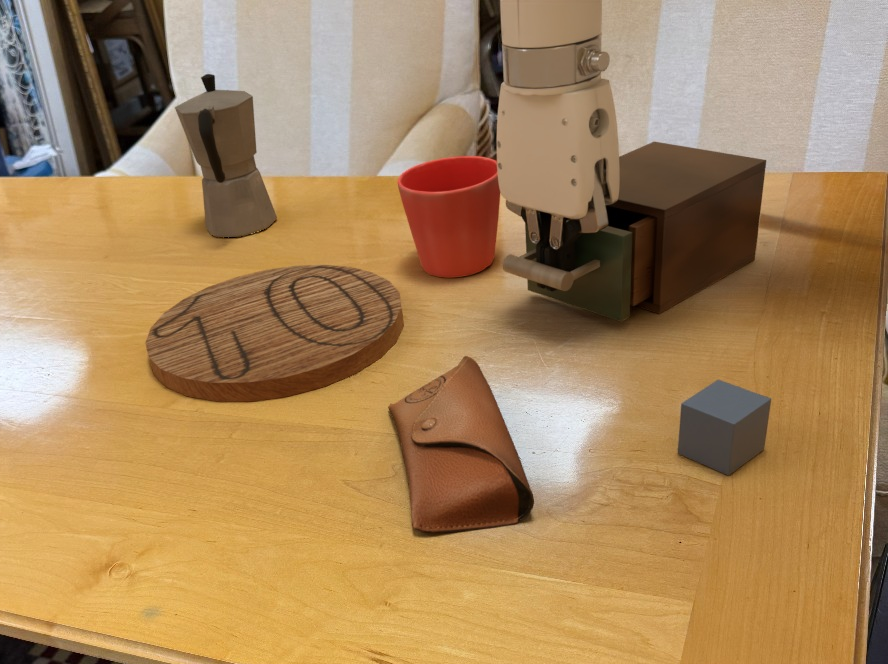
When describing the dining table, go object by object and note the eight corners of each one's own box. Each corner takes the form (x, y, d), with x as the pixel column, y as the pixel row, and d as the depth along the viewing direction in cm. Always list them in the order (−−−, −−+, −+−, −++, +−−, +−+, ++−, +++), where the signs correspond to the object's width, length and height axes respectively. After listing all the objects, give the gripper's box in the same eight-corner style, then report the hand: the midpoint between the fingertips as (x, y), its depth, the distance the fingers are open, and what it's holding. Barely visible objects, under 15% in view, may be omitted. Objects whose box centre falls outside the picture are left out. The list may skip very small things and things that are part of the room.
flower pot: (392, 283, 96) (379, 191, 90) (428, 242, 103) (419, 155, 98) (488, 287, 92) (482, 191, 86) (519, 245, 99) (515, 154, 94)
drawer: (581, 344, 78) (580, 257, 73) (488, 309, 86) (483, 229, 81) (714, 269, 86) (722, 187, 82) (619, 244, 94) (621, 167, 89)
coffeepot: (213, 212, 122) (177, 67, 111) (282, 202, 121) (252, 56, 111) (195, 256, 110) (153, 98, 99) (272, 246, 109) (238, 86, 98)
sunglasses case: (380, 402, 75) (413, 332, 72) (456, 426, 77) (491, 359, 74) (412, 536, 61) (455, 456, 57) (504, 561, 63) (550, 485, 60)
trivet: (188, 433, 76) (182, 414, 75) (126, 327, 95) (121, 311, 94) (450, 343, 83) (448, 324, 82) (344, 261, 102) (341, 245, 101)
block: (713, 428, 67) (718, 379, 64) (764, 449, 64) (771, 398, 62) (677, 453, 65) (680, 403, 63) (728, 476, 62) (734, 424, 60)
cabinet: (659, 314, 82) (665, 210, 77) (555, 281, 91) (553, 184, 85) (755, 259, 89) (766, 159, 83) (650, 233, 97) (653, 141, 92)
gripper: (662, 59, 67) (651, 290, 78) (517, 45, 77) (525, 252, 88) (593, 84, 64) (592, 322, 75) (451, 67, 74) (468, 279, 85)
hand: (556, 284), depth 81 cm, fingers closed
